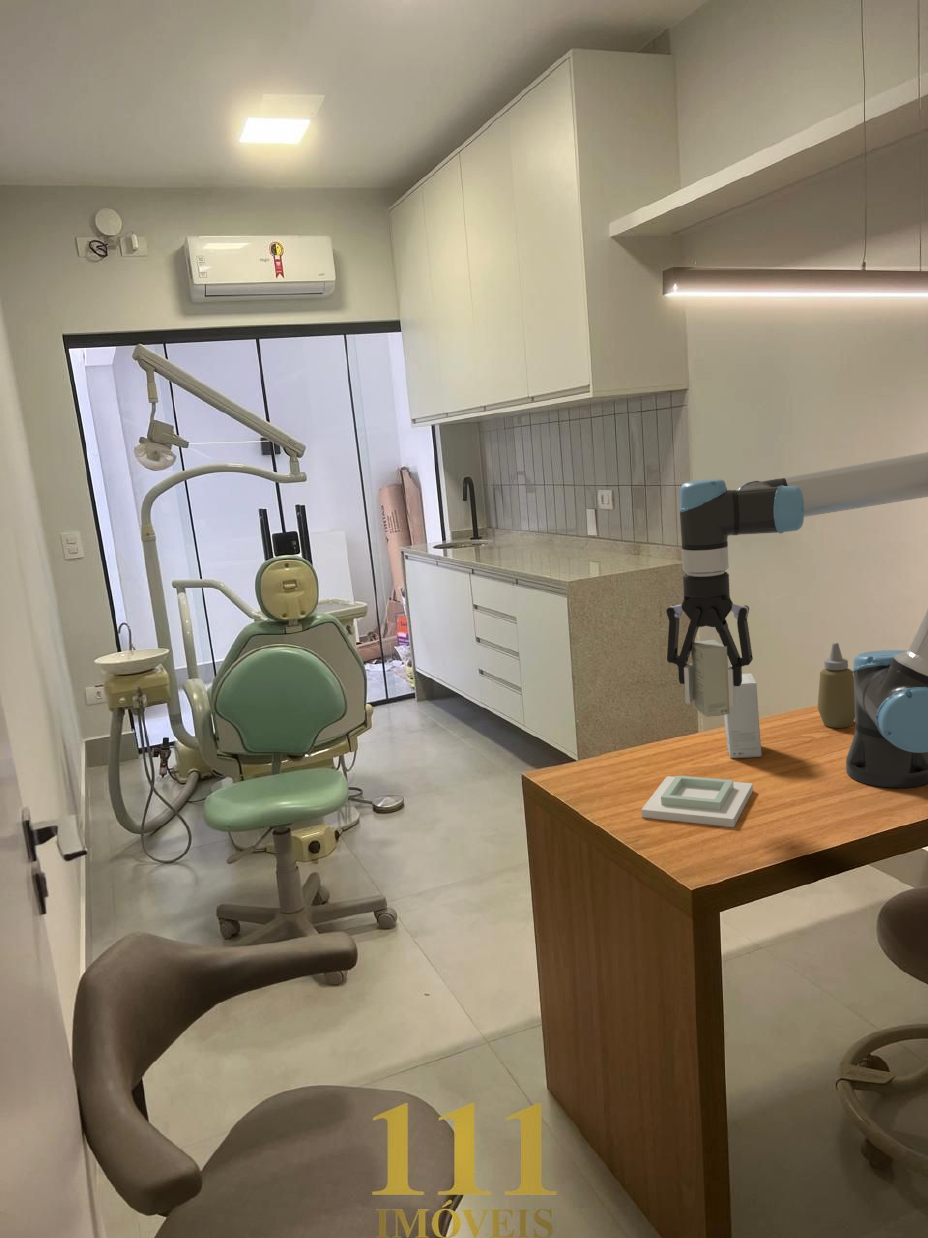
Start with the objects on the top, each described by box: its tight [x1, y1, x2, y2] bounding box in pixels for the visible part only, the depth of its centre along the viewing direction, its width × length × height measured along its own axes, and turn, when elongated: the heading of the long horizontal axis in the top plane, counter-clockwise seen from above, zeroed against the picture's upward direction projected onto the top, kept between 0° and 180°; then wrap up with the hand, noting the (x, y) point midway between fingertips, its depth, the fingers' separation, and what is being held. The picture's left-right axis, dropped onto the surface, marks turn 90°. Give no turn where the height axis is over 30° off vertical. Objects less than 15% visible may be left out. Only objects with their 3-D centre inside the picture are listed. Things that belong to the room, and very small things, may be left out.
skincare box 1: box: [690, 638, 730, 718], centre depth 155 cm, size 6×4×12 cm
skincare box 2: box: [723, 673, 762, 759], centre depth 183 cm, size 8×7×16 cm
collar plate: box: [641, 775, 754, 828], centre depth 162 cm, size 16×16×3 cm
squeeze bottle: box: [817, 642, 855, 729], centre depth 192 cm, size 8×8×18 cm
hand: (711, 702), depth 156 cm, fingers closed on skincare box 1, 7 cm apart
